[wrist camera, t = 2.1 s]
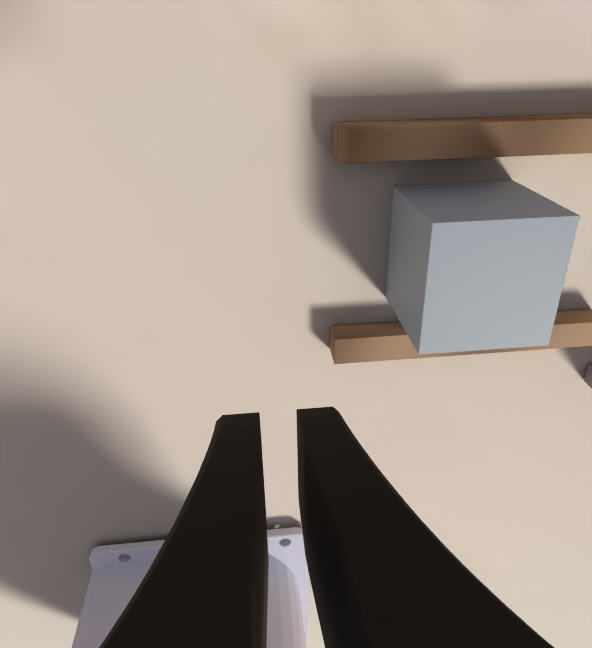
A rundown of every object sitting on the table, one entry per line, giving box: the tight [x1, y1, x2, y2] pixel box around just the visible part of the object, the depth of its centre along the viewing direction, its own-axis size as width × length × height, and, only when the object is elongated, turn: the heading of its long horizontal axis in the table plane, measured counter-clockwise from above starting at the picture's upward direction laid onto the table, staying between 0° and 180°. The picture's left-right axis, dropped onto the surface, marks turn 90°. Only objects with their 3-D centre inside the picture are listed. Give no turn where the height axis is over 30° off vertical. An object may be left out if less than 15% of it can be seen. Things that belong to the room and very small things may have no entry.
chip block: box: [386, 180, 580, 355], centre depth 17 cm, size 4×4×4 cm
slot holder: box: [330, 114, 592, 364], centre depth 18 cm, size 10×8×1 cm
